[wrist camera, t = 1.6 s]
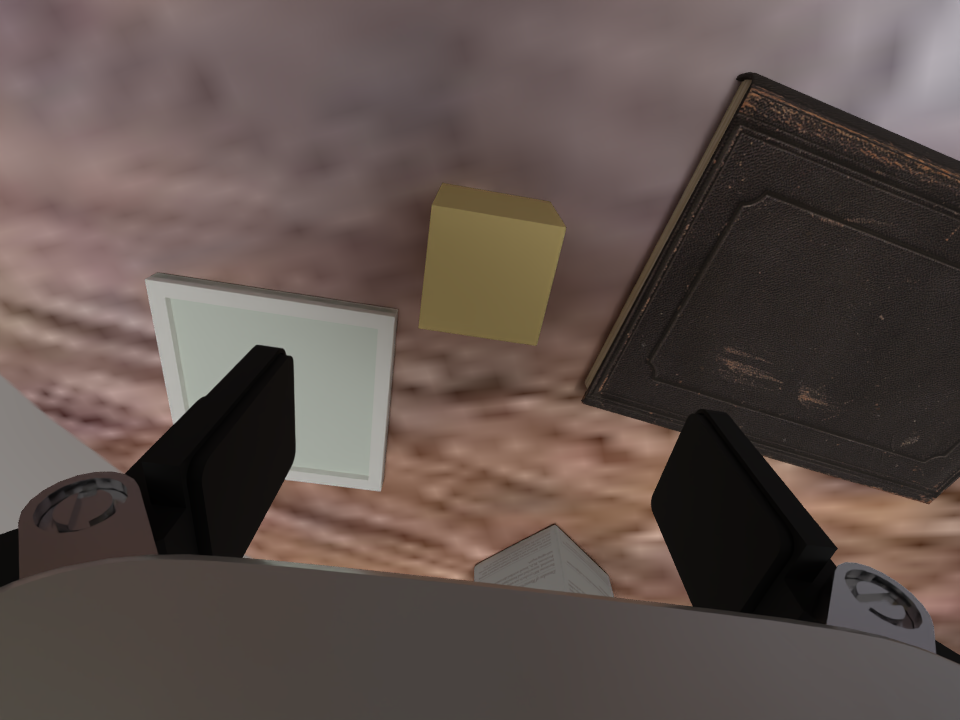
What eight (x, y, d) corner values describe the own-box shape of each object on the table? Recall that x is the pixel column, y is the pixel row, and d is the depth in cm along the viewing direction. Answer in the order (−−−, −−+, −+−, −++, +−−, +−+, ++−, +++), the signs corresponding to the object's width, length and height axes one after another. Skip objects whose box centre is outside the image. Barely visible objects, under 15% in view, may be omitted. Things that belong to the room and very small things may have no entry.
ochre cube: (442, 182, 21) (431, 204, 17) (549, 201, 22) (566, 227, 17) (430, 285, 24) (418, 328, 19) (527, 300, 24) (536, 345, 20)
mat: (157, 272, 23) (144, 279, 23) (398, 309, 24) (394, 317, 23) (190, 455, 29) (181, 466, 28) (383, 479, 30) (380, 491, 29)
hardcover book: (900, 478, 30) (929, 505, 28) (575, 381, 27) (582, 404, 25) (1140, 247, 23) (1203, 261, 21) (733, 72, 20) (762, 70, 18)
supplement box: (470, 564, 34) (464, 787, 23) (556, 520, 32) (594, 745, 21) (529, 613, 37) (548, 833, 26) (611, 576, 35) (671, 800, 24)
